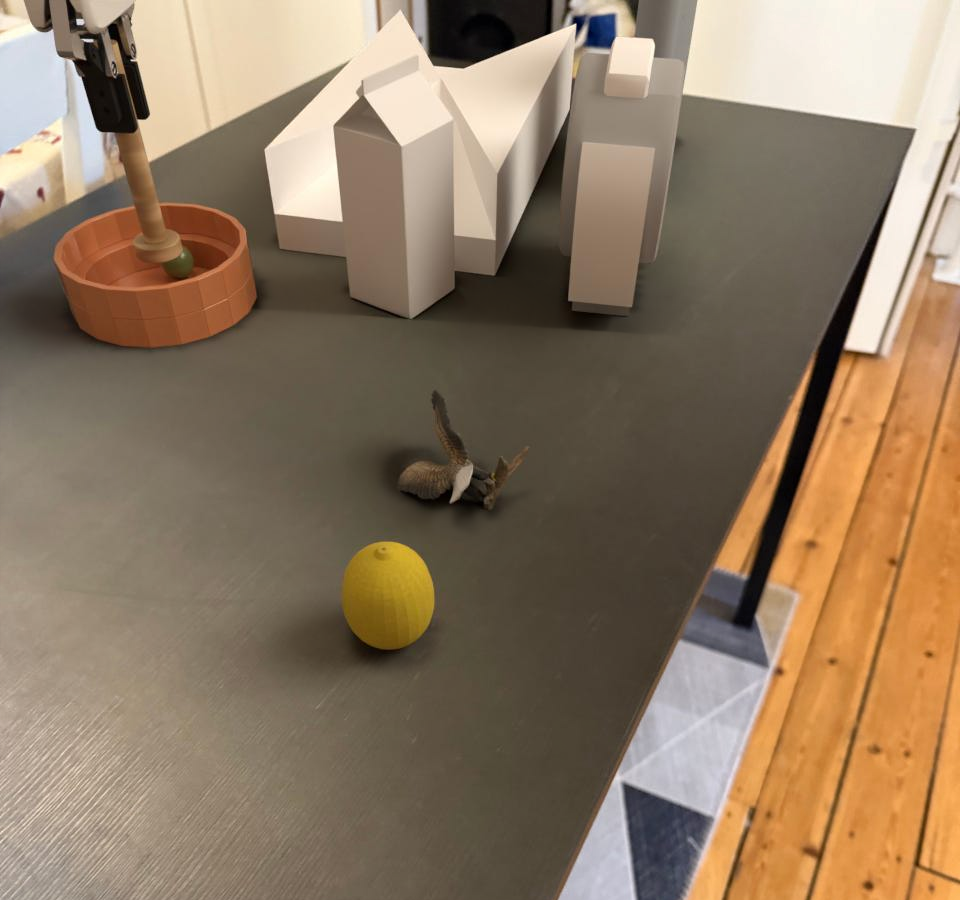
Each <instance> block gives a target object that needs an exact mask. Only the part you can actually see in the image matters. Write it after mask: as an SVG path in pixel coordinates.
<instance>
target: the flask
mask: <svg viewBox="0 0 960 900" xmlns="http://www.w3.org/2000/svg"><path fill="white" fill-rule="evenodd" d="M698 1H699V0H638V5H637V13H636V20H635V21H636V22H635V29H634V37H633V38H647V39H653V41H654V44H655V50H654V58H668V59H679V60H681V61H682V62H684V68H685V72H684V81H683V90H682V95H683V93H684V87H685V80H686V74H687V70H688V69H687V68H688V62H689V56H690V50H691V45H692V37H693V32H694V24H695V20H696V14H697V13H696V12H697V8H698V7H697V6H698ZM682 99H683V96H682V97H681V101H682ZM681 105H682V104H681ZM681 105H680V107H681Z"/></svg>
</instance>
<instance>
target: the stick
mask: <svg viewBox="0 0 960 900" xmlns="http://www.w3.org/2000/svg"><path fill="white" fill-rule="evenodd" d="M110 40H111V44H112V48H113V51H114V55H115V59H116V63H117V67H118V74H125V70H124V66H123V62H122V58H121V54H120V51H119V47H118V43H117V41H115V40H112V39H110ZM91 42H92V43H94V45H95V46H96V47H97V48H98V44H97V40H96V41H91ZM98 49H99V48H98ZM125 78H126V74H125ZM126 82H127V86H128V90H129V94H130V98H131V101H132V97H131V93H130V89H129V85H128V81H127V78H126ZM132 105H133V101H132ZM133 109H134V105H133ZM134 113H135V117H136V121H137V125H138V129H137V131H136V132H135V133H113V134H114V137H115V141H116V144H117V148H118V151H119V155H120V159H121V162H122V166H123V170H124V173H125V177H126V180H127V184H128V188H129V191H130V194H131V199H132V202H133V206H135V209H136V213H137V216H138V220H139V224H140V227H141V231H142V233H140V234H138V235H137V236H136V237H135V238H134V239H133V246H134V250H135V253H136V256H137V258H138V259H139V260H141V261H144V262H148V263H161V262H167V261H170V260H173V259H175V258H177V257H178V256H179V255H181V253H182V251H183V248H182V244H181V240H180V236H179V234H178V233H177V232H175V231H173V230H169V229H166V228H165V224H164V221H163V217H162V213H161V209H160V205H159V203H160V202H159V198H158V193H157V190H156V186H155V183H154V178H153V174H152V171H151V167H150V163H149V159H148V155H147V151H146V148H145V143H144V140H143V136H142V132H141V128H140V125H139V120H137V116H136V112H135V109H134Z"/></svg>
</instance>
